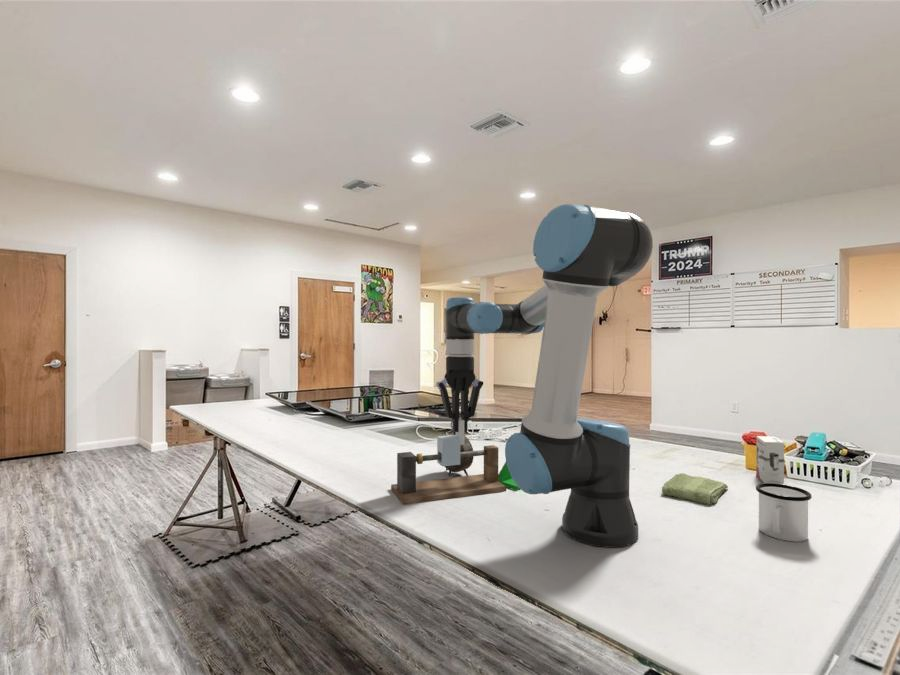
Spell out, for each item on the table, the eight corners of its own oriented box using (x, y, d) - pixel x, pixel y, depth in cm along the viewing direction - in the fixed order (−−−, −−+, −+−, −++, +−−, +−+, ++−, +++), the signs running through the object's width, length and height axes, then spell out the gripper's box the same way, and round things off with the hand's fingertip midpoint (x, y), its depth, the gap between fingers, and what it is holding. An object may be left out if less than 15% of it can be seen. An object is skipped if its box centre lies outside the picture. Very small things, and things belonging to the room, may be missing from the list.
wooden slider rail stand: (486, 477, 135) (486, 441, 135) (506, 490, 124) (506, 451, 124) (391, 489, 125) (391, 450, 125) (403, 504, 114) (403, 461, 114)
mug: (760, 520, 104) (760, 480, 104) (814, 533, 97) (814, 489, 97) (747, 537, 95) (748, 493, 95) (805, 552, 89) (806, 504, 89)
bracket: (517, 491, 124) (517, 466, 124) (495, 484, 130) (495, 460, 130) (544, 482, 132) (544, 458, 132) (523, 476, 138) (523, 452, 138)
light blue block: (454, 460, 127) (454, 434, 127) (460, 464, 123) (460, 437, 123) (437, 462, 125) (437, 436, 125) (442, 466, 122) (442, 439, 122)
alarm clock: (474, 476, 136) (474, 420, 136) (461, 480, 132) (461, 423, 132) (448, 469, 144) (448, 416, 144) (435, 472, 140) (435, 418, 140)
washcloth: (729, 490, 126) (729, 478, 126) (714, 508, 113) (714, 495, 113) (677, 480, 135) (677, 469, 135) (657, 496, 121) (657, 483, 121)
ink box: (755, 474, 139) (755, 435, 139) (774, 476, 137) (774, 436, 137) (764, 483, 130) (764, 441, 130) (784, 485, 129) (785, 442, 129)
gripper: (476, 354, 131) (476, 439, 131) (432, 355, 127) (432, 442, 127) (488, 355, 124) (488, 444, 124) (441, 356, 120) (441, 449, 120)
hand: (459, 443), depth 126 cm, fingers closed
